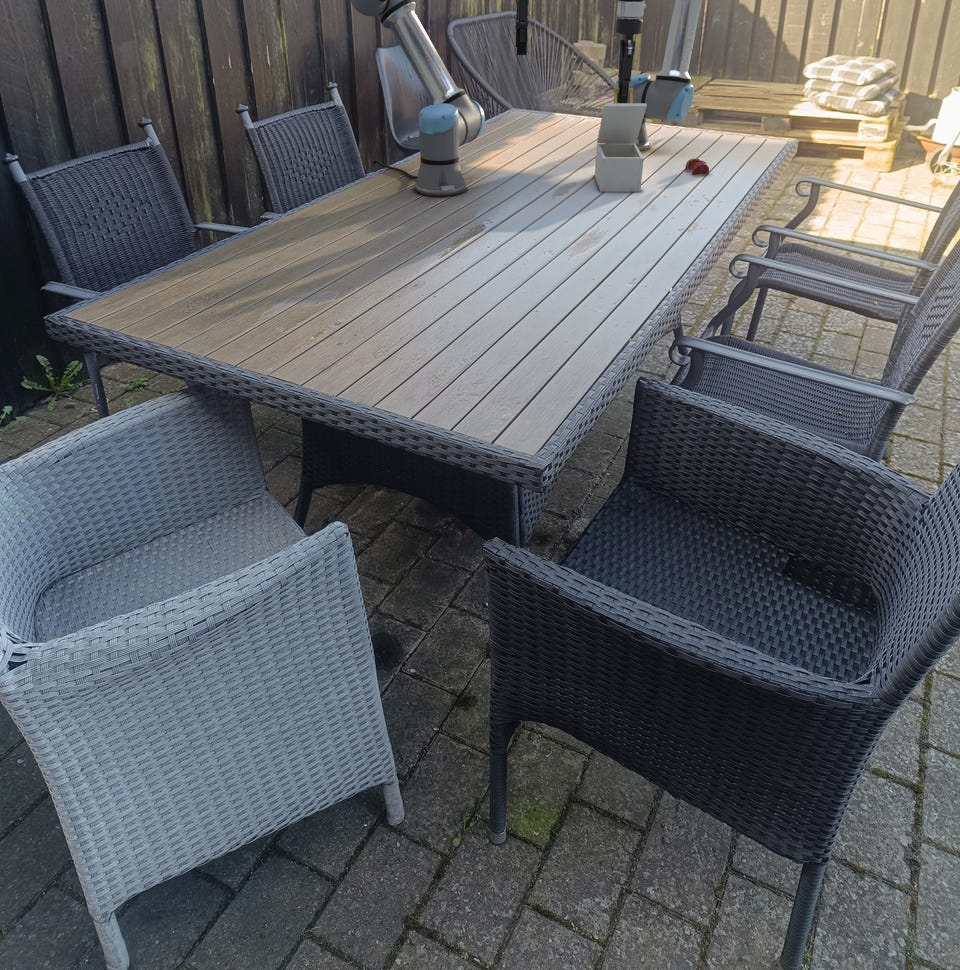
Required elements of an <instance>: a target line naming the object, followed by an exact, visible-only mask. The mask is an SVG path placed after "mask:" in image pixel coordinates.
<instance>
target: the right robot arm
mask: <svg viewBox="0 0 960 970" xmlns="http://www.w3.org/2000/svg"><path fill="white" fill-rule="evenodd" d="M645 2H646V0H617V7H616V17H618V18H617V19H616V21H615V33H616V34H618V35H622V39H620V40H619V48H620V49H619V59H618V60H619V62H618V74H617V77H618V79H617V80H616V82H615V87H614V88H619V93H617V103H630V93H628V90H629V88H633V93H632V99H633V103H647V107H646V110H645V114H644V117H643V120H642V124H641V127H640V131H639V134H638V138H637V141H636V143H604V144H636V146H637V147H638V149H639V151H640V152H642V151H645V150H647V149H648V148H649V143H650V141H649V136H648V131H647V125H646V121H647V119H651V120H652V119H653V120H660V121H661V120H662V121H667V122H681V121H682V120H684V119H685V118H686V117H687V115H688V114H689V112H690V110H691V108H692V105H693V102H694V98H695V86H694V85H693V84H691V81H692V77H691V76H690V75H689V68H690V63H691V58H692V53H693V52H692V51H693V47H694V43H695V38H696V32H697V27H698V22H699V17H700V12H701V7H702V2H703V0H674V3H673V9H672V13H671V19H670V23H669V24H670V25H669V29H668V36H667V42H666V46H665V52H664V57H663V62H662V67H661V70H660V71H659V72H657V74H656V75H655V79H654V80H651V79H652V77H651V75H650V74H646V73H641V74H640V73H639V74H638V73H637V74H632V73H633V72H632V71H633V63H634V55H635V50H636V41H635V40H634V39H635V37H634V36H635V35H641V34H642V33H643V23H644V20H643V17H644V9H646V8H647V4H646V3H645ZM613 103H615V101H614V100H613Z"/></svg>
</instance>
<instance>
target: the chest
mask: <svg viewBox="0 0 960 970" xmlns="http://www.w3.org/2000/svg"><path fill="white" fill-rule="evenodd" d="M644 161H645V159H644V156H643V155H642V152H641V151H639V149H638V147H637V146H636V144H605V143H596V151H595V164H594V178H595V181H596V183H597V186H598V190H599V192H601V193H602V192H604V193H610V192H613V193H614V192H615V193H617V192H619V193H620V192H622V193H623V192H624V193H625V192H626V193H627V192H628V193H630V192H632V193H633V192H634V193H635V192H636V193H637V192H638V193H640V192H641V187H642V180H643V179H642V177H643V169H644Z"/></svg>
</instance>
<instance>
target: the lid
mask: <svg viewBox="0 0 960 970" xmlns="http://www.w3.org/2000/svg"><path fill="white" fill-rule="evenodd" d="M617 93H619V88H615V87H613V94H614V95H613V102H612V103H611V102H610V103H609V102H608V103H605V102H604V107H603V111H602V116H601V120H600V125H599V130H598V134H597V139H596V144H605V143H636V141H637V138H638V134H639V131H640V127H641V124H642V120H643V117H644V114H645V110H646V107H647V103H633V99H632V93H633V88H629V90H628V93H630V103H617ZM614 101H615V103H614Z"/></svg>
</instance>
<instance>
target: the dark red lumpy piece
mask: <svg viewBox="0 0 960 970" xmlns="http://www.w3.org/2000/svg"><path fill="white" fill-rule="evenodd" d="M684 171H691V174H692V175H693V176H695V175H696V176H699V175H708V174H709V173H710V167H709V165H708V163H707V162H706V161H705V160H701V159H700V158H697V157H695V158H690V159H689V160H688V161H687V162H686V164H685V169H684Z"/></svg>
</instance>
